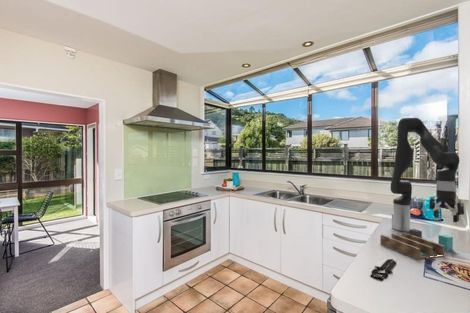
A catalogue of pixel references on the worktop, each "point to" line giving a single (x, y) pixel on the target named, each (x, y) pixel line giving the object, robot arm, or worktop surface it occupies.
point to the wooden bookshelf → (413, 245)
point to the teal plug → (446, 242)
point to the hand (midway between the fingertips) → (445, 220)
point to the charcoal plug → (415, 232)
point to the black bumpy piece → (384, 265)
